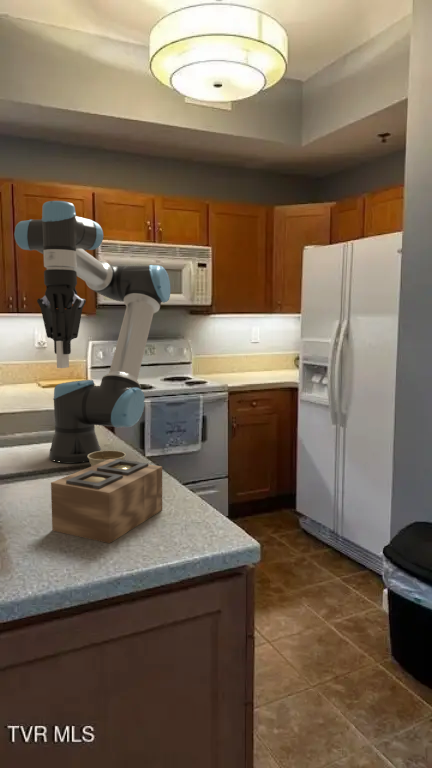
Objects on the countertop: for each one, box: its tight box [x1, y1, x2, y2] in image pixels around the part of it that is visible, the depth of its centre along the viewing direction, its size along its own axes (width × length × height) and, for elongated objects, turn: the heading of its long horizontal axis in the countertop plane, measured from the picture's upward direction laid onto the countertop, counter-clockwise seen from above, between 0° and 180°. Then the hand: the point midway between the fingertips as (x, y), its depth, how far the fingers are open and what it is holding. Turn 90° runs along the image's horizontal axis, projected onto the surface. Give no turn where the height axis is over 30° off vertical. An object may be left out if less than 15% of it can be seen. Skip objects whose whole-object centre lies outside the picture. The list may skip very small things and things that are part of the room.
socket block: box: [50, 459, 163, 544], centre depth 116 cm, size 20×14×11 cm
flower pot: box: [87, 449, 127, 467], centre depth 137 cm, size 9×9×9 cm
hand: (63, 367), depth 134 cm, fingers closed
